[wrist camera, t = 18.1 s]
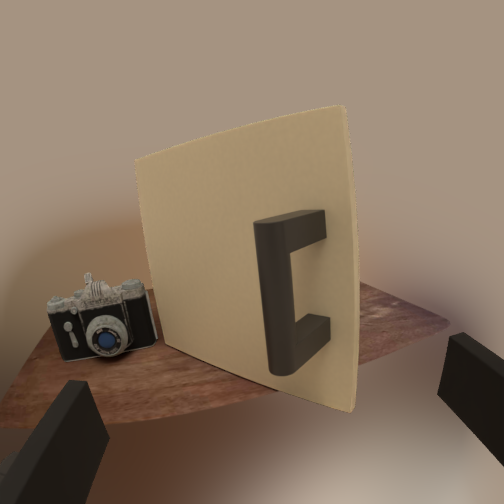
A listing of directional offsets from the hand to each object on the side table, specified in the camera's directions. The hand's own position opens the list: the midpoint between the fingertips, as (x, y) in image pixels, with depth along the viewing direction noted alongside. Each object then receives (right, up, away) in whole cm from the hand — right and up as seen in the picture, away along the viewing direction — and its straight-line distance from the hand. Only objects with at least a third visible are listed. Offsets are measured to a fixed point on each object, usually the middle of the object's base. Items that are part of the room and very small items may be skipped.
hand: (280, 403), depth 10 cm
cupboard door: (-4, -9, +21) cm, 23 cm away
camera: (-20, -9, +29) cm, 37 cm away
